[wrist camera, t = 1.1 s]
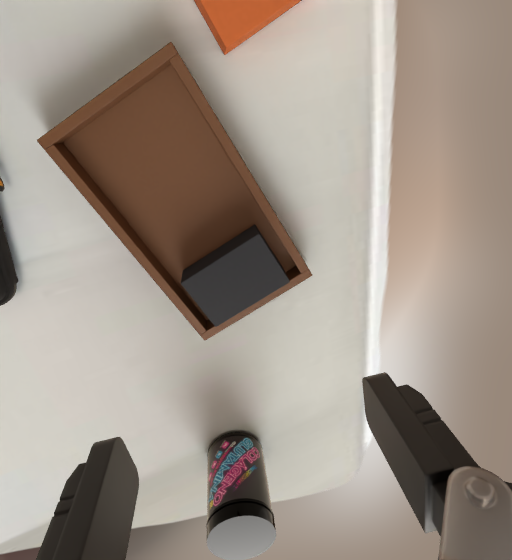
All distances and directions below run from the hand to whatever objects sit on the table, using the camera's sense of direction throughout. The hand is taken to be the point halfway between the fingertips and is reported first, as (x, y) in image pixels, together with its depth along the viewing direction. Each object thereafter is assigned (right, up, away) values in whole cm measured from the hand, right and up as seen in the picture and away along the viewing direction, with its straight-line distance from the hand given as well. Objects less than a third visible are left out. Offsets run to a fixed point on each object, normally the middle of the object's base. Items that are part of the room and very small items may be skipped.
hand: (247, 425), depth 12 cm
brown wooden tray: (-5, +11, +20) cm, 24 cm away
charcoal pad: (-2, +6, +23) cm, 23 cm away
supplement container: (-2, -16, +33) cm, 37 cm away
